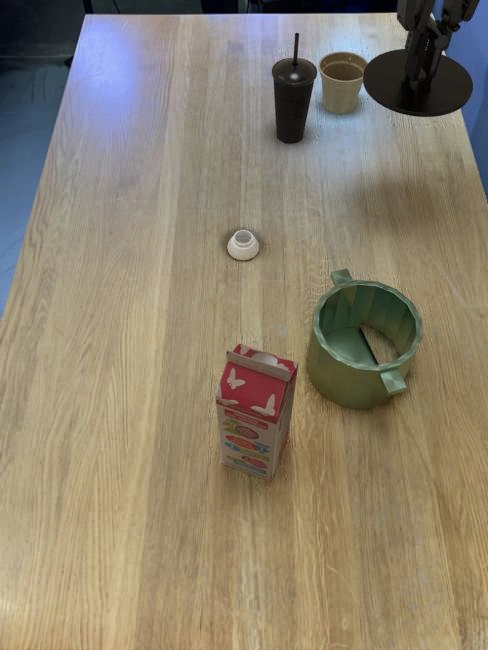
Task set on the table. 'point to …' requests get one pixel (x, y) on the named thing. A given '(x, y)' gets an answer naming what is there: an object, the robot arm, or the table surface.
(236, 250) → the white jar
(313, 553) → the table surface
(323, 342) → the pot
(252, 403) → the juice carton
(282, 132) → the drinking cup
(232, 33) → the table surface
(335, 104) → the flower pot
